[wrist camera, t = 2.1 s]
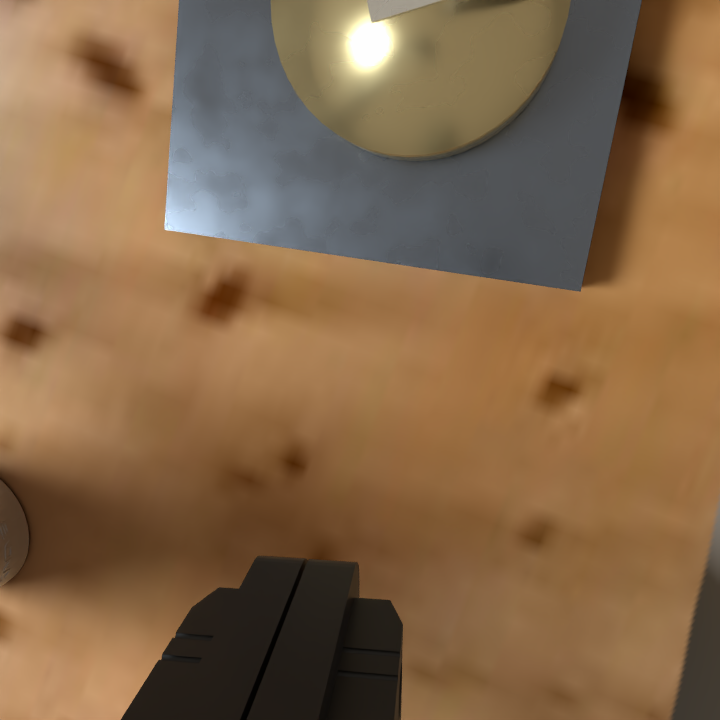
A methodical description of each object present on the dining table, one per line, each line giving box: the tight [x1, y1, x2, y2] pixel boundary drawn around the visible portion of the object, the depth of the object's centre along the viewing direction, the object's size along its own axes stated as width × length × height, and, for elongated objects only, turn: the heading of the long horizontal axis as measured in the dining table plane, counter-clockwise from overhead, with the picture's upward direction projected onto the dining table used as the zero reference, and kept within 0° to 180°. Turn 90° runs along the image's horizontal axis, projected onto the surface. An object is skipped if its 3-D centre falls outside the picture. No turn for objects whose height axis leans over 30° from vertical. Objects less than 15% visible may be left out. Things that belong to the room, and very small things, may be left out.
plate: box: [165, 0, 642, 291], centre depth 31 cm, size 22×22×2 cm
